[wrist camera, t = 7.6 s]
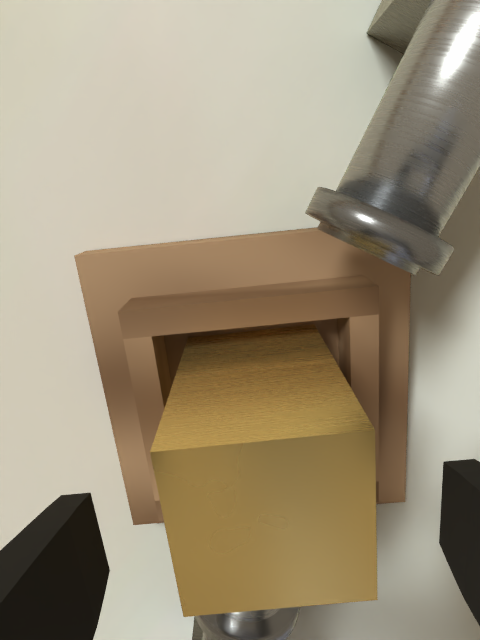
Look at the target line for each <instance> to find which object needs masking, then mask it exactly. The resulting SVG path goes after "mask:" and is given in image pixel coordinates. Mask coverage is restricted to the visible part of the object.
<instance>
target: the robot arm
mask: <svg viewBox="0 0 480 640" xmlns="http://www.w3.org/2000/svg"><path fill="white" fill-rule="evenodd" d="M439 543H440V546H441V548H442V550H443V553H444V555H445V557H446V560H447V562H448V564H449V566H450V569H451V571H452V573H453V576H454V578H455V580H456V582H457V584H458V586H459V589H460V591H461V593H462V595H463V597H464V599H465V601H466V603H467V604H468V606H469V608H470V610H471V612H472V613H473V615H474V617H475V619H476V620H477V622H478V624H479V626H480V462H479V461H477V460H475V459H470V460H458V461H447V462H444V465H443V483H442V502H441V521H440V539H439ZM109 571H110V570H109V566H108V562H107V558H106V554H105V550H104V546H103V542H102V538H101V534H100V530H99V525H98V521H97V517H96V513H95V509H94V505H93V501H92V497H91V493H83V494H71V495H61V496H60V497H59V498H58V499H56V500H55V501H54V502H53V503H52V504H51V505H49V506H48V507H47V508H46V509H45V510H44V511H43V512H42V513H41V514H40V515H38V516H37V517H36V518H35V519H34V520H33V521H32V522H31V523H30V524H29V525H28V526H27V527H25V528H24V529H23V530H22V531H21V532H20V533H19V534H18V535H17V536H16V537H15V538H14V539H13V540H11V541H10V542H9V543H8V544H7V545H6V546H5V547H4V548H3V549H2V550H1V551H0V640H93V637H94V634H95V631H96V628H97V624H98V620H99V616H100V612H101V608H102V603H103V599H104V594H105V590H106V585H107V580H108V576H109Z"/></svg>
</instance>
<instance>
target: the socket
mask: <svg viewBox="0 0 480 640" xmlns="http://www.w3.org/2000/svg"><path fill="white" fill-rule="evenodd" d="M317 228H318V227H317ZM317 228H307V229H297V230H288V231H278V232H268V233H258V234H249V235H239V236H229V237H219V238H209V239H200V240H190V241H180V242H170V243H160V244H151V245H141V246H131V247H121V248H111V249H102V250H92V251H85V252H83V253H80V254H78V255H75V256H74V257H75V261H76V266H77V270H78V275H79V279H80V284H81V288H82V293H83V298H84V302H85V307H86V311H87V316H88V320H89V325H90V329H91V334H92V338H93V343H94V347H95V352H96V357H97V361H98V366H99V370H100V375H101V379H102V384H103V388H104V393H105V397H106V402H107V406H108V411H109V416H110V420H111V425H112V429H113V434H114V438H115V443H116V447H117V452H118V456H119V461H120V466H121V470H122V475H123V479H124V484H125V488H126V493H127V497H128V502H129V506H130V511H131V515H132V520H133V525H139V524H151V523H162V522H164V518H163V513H162V509H161V504H160V499H159V494H158V489H157V484H156V479H155V474H154V469H153V464H152V460H151V455H150V451H151V448H152V445H153V442H154V439H155V436H156V433H157V430H158V427H159V424H160V421H161V418H162V415H163V412H164V409H165V406H166V403H167V400H168V397H169V394H170V390H171V387H172V384H173V381H174V378H175V375H176V372H177V369H178V366H179V363H180V360H181V357H182V354H183V351H184V348H185V345H186V342H187V339H188V338H189V337H199V336H208V335H218V334H227V333H236V332H246V331H255V330H265V329H274V328H284V327H293V326H302V325H312V324H314V325H315V327H316V328H317V330H318V332H319V334H320V335H321V337H322V339H323V340H324V342H325V344H326V346H327V347H328V349H329V351H330V353H331V354H332V356H333V358H334V360H335V361H336V363H337V365H338V367H339V368H340V370H341V372H342V373H343V375H344V377H345V379H346V380H347V382H348V384H349V386H350V387H351V389H352V391H353V393H354V394H355V396H356V398H357V399H358V401H359V403H360V405H361V406H362V408H363V410H364V412H365V413H366V415H367V417H368V419H369V420H370V422H371V424H372V426H373V427H374V429H375V465H376V504H382V503H394V502H405V486H406V445H407V405H408V364H409V323H410V283H411V273H409V272H407V271H405V270H403V269H401V268H399V267H396V266H394V265H392V264H390V263H388V262H386V261H384V260H382V259H379V258H377V257H375V256H373V255H371V254H369V253H367V252H365V251H363V250H360V249H358V248H356V247H354V246H352V245H350V244H348V243H346V242H344V241H341V240H339V239H337V238H335V237H333V236H331V235H329V234H327V233H325V232H322V231H320V230H318V229H317Z"/></svg>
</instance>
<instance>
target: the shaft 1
mask: <svg viewBox="0 0 480 640" xmlns="http://www.w3.org/2000/svg"><path fill="white" fill-rule="evenodd" d="M298 613H299V607H290V608H278V609H267V610H256V611H244V612H233V613H222V614H210V615H199V616H195V617H194V627H193V637H192V640H285V639H286V638H287V637H288V636H289V634H290V633H291V632H292V630H293V628H294V626H295V624H296V621H297V618H298Z"/></svg>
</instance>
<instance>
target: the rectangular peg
mask: <svg viewBox="0 0 480 640" xmlns="http://www.w3.org/2000/svg"><path fill="white" fill-rule="evenodd" d="M150 455H151V460H152V464H153V469H154V474H155V479H156V484H157V489H158V494H159V499H160V504H161V509H162V513H163V518H164V523H165V528H166V533H167V538H168V543H169V548H170V553H171V557H172V562H173V567H174V572H175V577H176V582H177V587H178V592H179V597H180V601H181V606H182V611H183V616H184V617H188V616H199V615H210V614H222V613H233V612H244V611H256V610H267V609H278V608H290V607H301V606H312V605H324V604H335V603H346V602H358V601H369V600H377V540H376V465H375V429H374V427H373V426H372V424H371V422H370V420H369V419H368V417H367V415H366V413H365V412H364V410H363V408H362V406H361V405H360V403H359V401H358V399H357V398H356V396H355V394H354V393H353V391H352V389H351V387H350V386H349V384H348V382H347V380H346V379H345V377H344V375H343V373H342V372H341V370H340V368H339V367H338V365H337V363H336V361H335V360H334V358H333V356H332V354H331V353H330V351H329V349H328V347H327V346H326V344H325V342H324V340H323V339H322V337H321V335H320V334H319V332H318V330H317V328H316V327H315V325H314V324H312V325H302V326H293V327H284V328H274V329H265V330H255V331H246V332H236V333H227V334H218V335H208V336H199V337H189V338H188V339H187V342H186V345H185V348H184V351H183V354H182V357H181V360H180V363H179V366H178V369H177V372H176V375H175V378H174V381H173V384H172V387H171V390H170V394H169V397H168V400H167V403H166V406H165V409H164V412H163V415H162V418H161V421H160V424H159V427H158V430H157V433H156V436H155V439H154V442H153V445H152V448H151V451H150Z"/></svg>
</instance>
